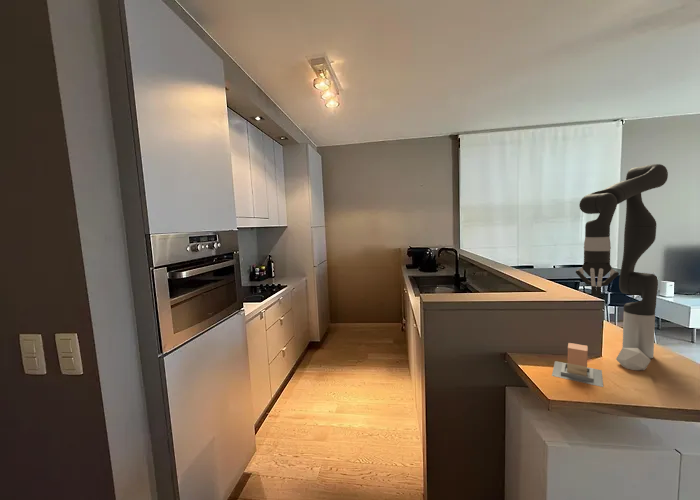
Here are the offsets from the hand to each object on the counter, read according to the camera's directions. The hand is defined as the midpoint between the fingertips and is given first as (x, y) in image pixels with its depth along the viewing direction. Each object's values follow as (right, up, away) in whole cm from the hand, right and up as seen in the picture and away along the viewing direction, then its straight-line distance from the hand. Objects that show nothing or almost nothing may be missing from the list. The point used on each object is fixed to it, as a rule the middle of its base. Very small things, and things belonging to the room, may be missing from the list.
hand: (596, 296), depth 115 cm
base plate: (-10, -28, -4) cm, 30 cm away
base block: (-10, -27, -5) cm, 29 cm away
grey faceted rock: (+12, -27, -1) cm, 29 cm away
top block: (-10, -23, -5) cm, 25 cm away
